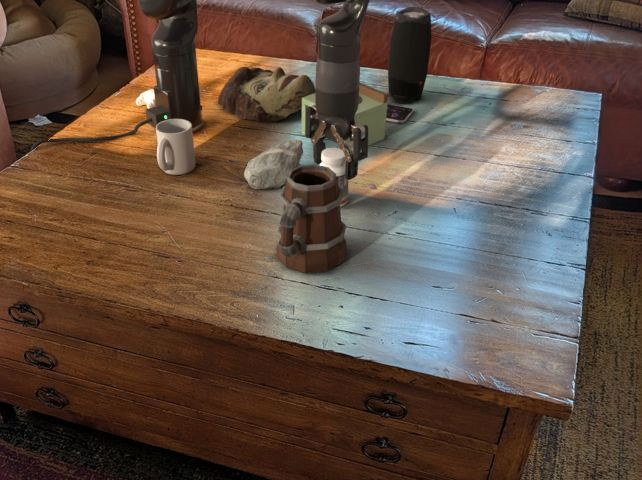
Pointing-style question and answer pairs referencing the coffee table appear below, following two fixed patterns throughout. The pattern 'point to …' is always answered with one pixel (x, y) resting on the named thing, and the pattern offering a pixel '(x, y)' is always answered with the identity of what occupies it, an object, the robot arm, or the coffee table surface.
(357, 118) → the green footstool with circle
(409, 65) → the portable speaker
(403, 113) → the smartphone
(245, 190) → the coffee table surface
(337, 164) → the pill bottle
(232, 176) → the coffee table surface
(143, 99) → the astronaut figurine
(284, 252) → the mug
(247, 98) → the sculpture
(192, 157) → the cup
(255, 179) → the decorative stone
